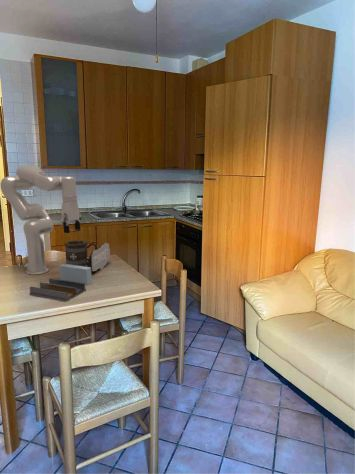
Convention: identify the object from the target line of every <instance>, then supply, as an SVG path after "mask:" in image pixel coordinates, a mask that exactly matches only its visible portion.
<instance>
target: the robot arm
mask: <svg viewBox="0 0 355 474" xmlns="http://www.w3.org/2000/svg"><path fill="white" fill-rule="evenodd" d="M76 181H77V179H76V178H75V176H61V175H60V176H59V175H58V176H55V175H54V176H46V173H45V172H44V170H42V169H41V167H39V165H20V166H18V168H17V169H16V171H15V175H9V176H5V177H3V178H2V179H1V180H0V190H1V194H2V195H3V196H4V198H5V199H6V200H7V201H8V203H9V204H10V205H11V207H12V208H13V210H14V212H15V213H16V215H17V217H18V218H19V219H20V221H24V222H25V223H24V224H23V227H22V228H23V233H24V236H25V240H26V241H25V243H26V251H27V262H26V263H25V265H23V266H24V268H26V270H25V273H26V274H27V275H33V276H35V275H42V274H46V273H48V272H49V267H47V266H46V254H45V252H46V251H45V241H44V240H43V238H42V235H46V234H49V233H51V232H53V229H54V223H53V220H52V219H51V217H50V215H49V214H48V213H47V211H46V209H45V208H44V206H43V205H42V204H41V203H34V202H33V203H29V202H28V201H27V200H26V199H27V198H25V196H24V195H23V194H21V193H20V192H18V191H25V190H30V189H31V188H32V187H34V186H35V187H36V188H37V189H40V190H43V191H47V192H54V191H61V196H62V197H61V198H62V203H61V217H60V218H59V220H60V223H61V224H62V226H63V232H64V233H65V234H69V233H70V225H69V224H70V222H74V229H75V230H76V231H80V230H81V222H82V221H81V220H82V213H80V208H79V203H78V195H77V184H76V183H77V182H76Z"/></svg>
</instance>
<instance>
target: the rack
mask: <svg viewBox="0 0 355 474" xmlns="http://www.w3.org/2000/svg"><path fill="white" fill-rule="evenodd" d="M48 280H49V281H48V282H43V281H40V282H39V287H38V286H37V287H35V286H33V285H32V286H29V296H33V297H37V298H44V299H50V300H54V301H61V302H65V303H67V302H69V300H71V299H74V298H75V297H77V296H78V295H81V294H83V293H84V292H86V291H87V288H86V285H85V283H79V282H72V281H66V280H60V278H52V277H50V278H48Z"/></svg>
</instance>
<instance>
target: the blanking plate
mask: <svg viewBox="0 0 355 474" xmlns="http://www.w3.org/2000/svg"><path fill="white" fill-rule="evenodd" d="M58 267H59V268H58V269H59V279H60V280H66V281H72V282H79V283H85V286H89V285H91V284H92V281H93V280H92V271H91V267H87V266H86V267H84V266H77V265H69V264H66V263H62V264H60V265H58Z"/></svg>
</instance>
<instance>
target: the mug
mask: <svg viewBox="0 0 355 474" xmlns="http://www.w3.org/2000/svg"><path fill="white" fill-rule="evenodd" d="M92 245H93V246H94V250H96V249H98V248H97V244H96V243H93V242H92V243H89V245H88V241H85V240H77V239H76V240H70V241H66V242H65V243H64V247H65V264H69V265H77V266H84V267H87V262H88V259H89V258H88V249H89V248H90V247H91V246H92Z"/></svg>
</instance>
